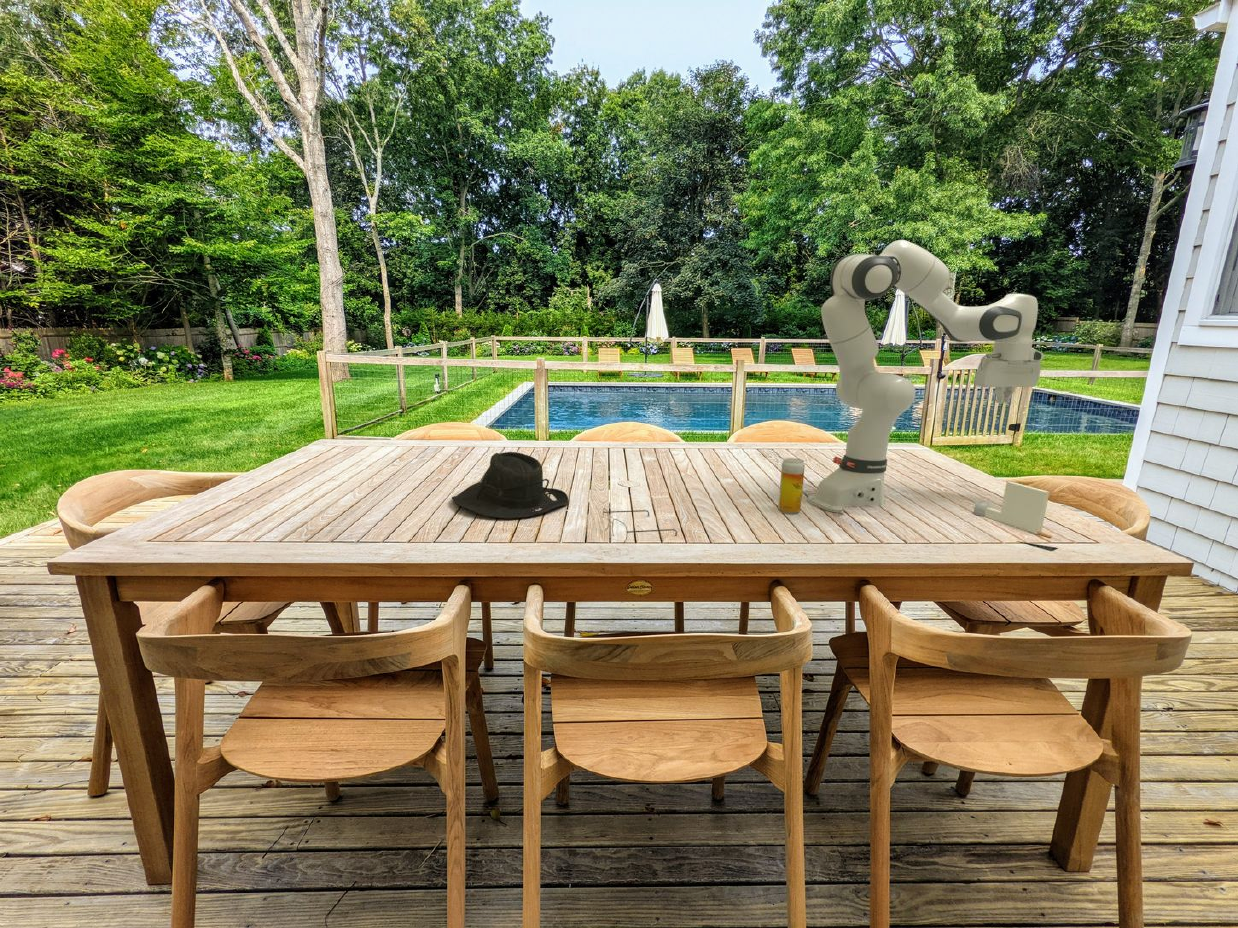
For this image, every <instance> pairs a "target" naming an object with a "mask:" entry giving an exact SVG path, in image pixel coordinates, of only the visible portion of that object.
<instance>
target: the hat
mask: <svg viewBox="0 0 1238 928" xmlns="http://www.w3.org/2000/svg"><path fill="white" fill-rule="evenodd" d="M543 475H544V474H543V466H542V464H541V463H540V461H539V460H538V459H537V458H535V457H533V456H530V455H527V454H524V453H521V452H515V451H506V452H501V453H499V452H495V453H494V454H493V455H492V456H491V457H490V459H489V467H488V468H487V470H486V471H485V473H484V475H483V476H482V479H481V480H480V482H476V483H473V484H472V485H470V486H468V487H467V488H465V489H464V490H463V491H461V492H459V493H458V494H456V495H454V496H452V497H451V500H452V501H453V503H455V504H456V505H457V506H459V507H462V508H465V509H467V510H468V511H471V512H473V513H476V514H478V515H481V516H484V517H489V518H496V519H497V518H499V519H502V520H503V519H505V520H511V519H512V520H513V519H522V518H525V519H526V518H529V517H534V516H537V515H542V514H545V513H547V512H549V511H550V510H552V509H553V510H554V509H555V508H557V507H558V508H559V507H563V506H567V505H569V501H570V500H569V495H567V493H566V492H565V491H563V490H561V489H558V488H549V487H548V486H549V483H550V480H549V479H548V478H543V477H544V476H543ZM544 482H546V486H545V487H544ZM549 495H552V496H553V497H554V498H555V499H554V500H553V499H552V498H551V497H550V496H549Z"/></svg>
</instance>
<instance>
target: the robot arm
mask: <svg viewBox="0 0 1238 928" xmlns="http://www.w3.org/2000/svg"><path fill="white" fill-rule="evenodd" d="M829 281H830V286H829V293H830V295H831V297H829V298H828V299H826V301H825V302H824V303H823V304H822V306H821V309H820V310H821V311H820V313H821V318H822V324H823V327H824V331H825V333H826V337H827V339H828V342H829V344H830V347H831V349H832V351H833V353H834V357H835V359H836V361H837V364H838V368H839V369H838V370H839V379H838V380H837V381H836V386H835V393H836V397H837V398H838V400H839V401H841V402H842V403H844V404H846V405H847V406H848V407H849V406H850V407H851V408H855V409H861V410H862V412H861V414H860V417H859V419H858V421H857V423H855V424H853V425H851V427H850V428H849V429H848V431H847V438H846V448H845V454H844V455H842V456H843V457H842V458H841V457H838V456H833V458H832V462H833V464H836V465H838V468H837V469H835V470H834V471H832V472H831V473H830V474H829V475H827V476H825V478H823V479H821V480H820V481H819V484H818V486H817V489H816V494H814V495H809V496H808V497H807V502H809V503H810V504H812V505H814V506H816V507H818V508H820V509H823V510H825V511H828V512H832V513H840V514H841V513H842V510H843V509H844V508H845V507H883V506H885V504H886V498H885V472H886V471H887V466H888V458H887V452H888V447H889V446H888V445H889V442H890V441H889V440H890V437H891V432H892V429H893V427H894V425H895V423H896V421H897V420H898V419H899V417H900V416H901V415H902V414H903V413H905V412H906V411H908V410H909V409H910V407H911V406H912V405H913V404H914V401H915V398H916V387H915V386H914V383H913V382H912V381H911V380H909V379H907V378H906V377H903V376H901V375H898V374H895V373H894V374H893V373H887V372H886V373H885V372H879V371H877V369H876V367H875V363H874V362H875V361H874V360H875V358H876V357H877V355H878V353H879V352H880V351H879V350H880V349H879V344H878V342H877V339H876V336H875V334H874V332H873V329H872V326H871V325H870V322H869V319H868V317H867V315H866V310H865V309H866V308H865V305H866V304H865V303H866V300H867V301H868V300H875V299H879V298H881V297H883V296H885V295H887V294H888V293H889V292H890V291H891V290H892V289H893V287H895V288H897V289H898V290H899V291H901V292H902V293H903V294H905V295H907V297H909V298H911V299H912V300H913V301H914V302H915V303H916V304H917V305H918V306H919V307H920V308H921V309H922V310H924V312H926V313H927V314H928V315H930V317H932V318H933V319H934V320H936V322H938V324H939V325H940V326H941V328H942V329H943V331H944V333H945V334H946V336H947V337H948V338H949V339H950V340H951V341H953V342H956V343H966V342H993V348H992V353H986V354H985V355H984V356H982V357H981V359H980V362H979V364H978V366H977V369H976V372H975V377H974V381H973V383H974V385H975V387H976V388H977V387H979V388H994V393H995V396H996V399H995V402H996V403H997V404H1008V403H1010V400H1011V397H1012V396H1013V394H1014V393H1015V391H1016V388H1029V387H1031V388H1034V387H1035V386H1037V384H1038V382H1039V380H1040V374H1041V371H1042V370H1041V369H1042V368H1041V367H1042V363H1041V362H1042V361H1043V360H1044V353H1043V352H1041V351H1039V350H1037V349H1036V348H1034V347H1032V346H1033V333H1034V331H1035V329H1036V325H1037V320H1038V312H1039V304H1038V300H1037V297H1035V296H1034V295H1032V294H1028V293H1021V292H1020V293H1019V292H1015V293H1014V292H1012V293H1007V294H1006V295H1005V296H1004V297H1003V298H1001V299H1000V300H998V301H996V302H993V303H990V304H988V305H981V306H964V305H960V304H957V303H955V301H954V300H952V299H951V298H950V297H949V296H948V295H946V294H945V293H944V291H945V290H946V288H947V286H948V285H949V281H950V270H949V268H948V267H947V266H946V264H945V263H944V262H943V261H942V260H941V259H939V258H938V257H937V256H935V255H934V254H932V253H931V252H930V251H928V249H927V250H926V249H925V248H923V247H922V246H920V245H917V244H915V243H913V242H910V241H908V240H905V239H898V240H895V241H892V242H890V244H888V245H887V246H886V247H885V248H884V249H883V250H882V252H881V253H880V254H878V255H877V254H875V255H874V254H868V253H858V254H856V253H855V254H853V253H851V254H848V255H845V256H842V257H840V258H839V259H838V260H837V261H836V262H835V263H834V264H833V266H832V268H831V271H830V279H829Z"/></svg>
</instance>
